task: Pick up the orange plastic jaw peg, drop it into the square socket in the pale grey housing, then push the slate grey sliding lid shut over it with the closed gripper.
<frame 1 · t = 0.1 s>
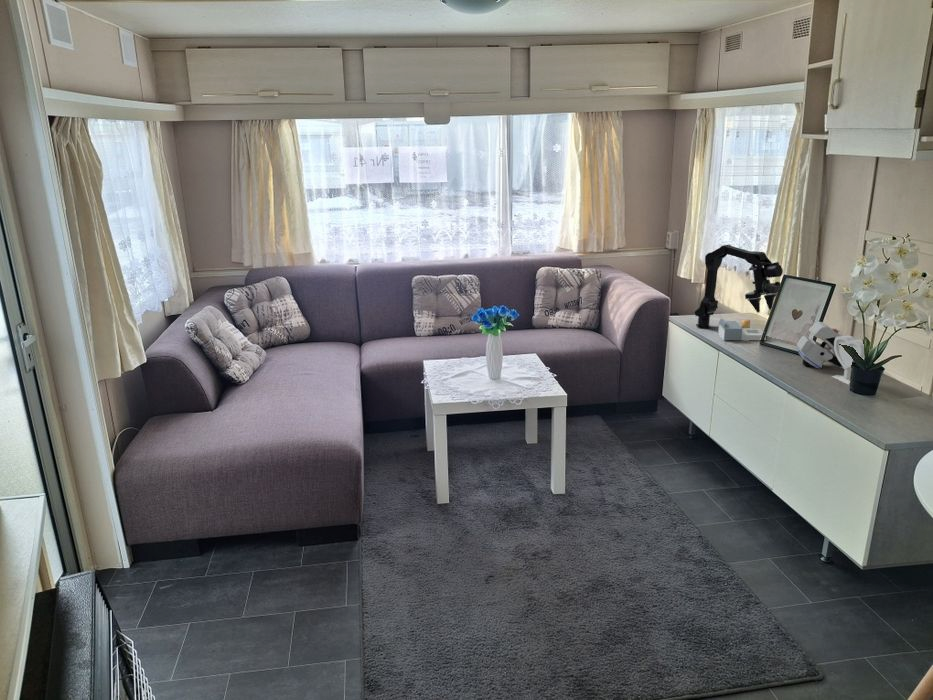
hand: (764, 310, 341), 15 cm above the sideboard top, tool pointing down, fingers open, 9 cm apart
jaw peg: (745, 329, 366), on the sideboard top
robotic device: (820, 366, 310), on the sideboard top
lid: (730, 328, 352), point 4 cm above the sideboard top, slide at 0.0 cm
housing: (741, 337, 353), on the sideboard top
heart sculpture: (846, 380, 292), on the sideboard top
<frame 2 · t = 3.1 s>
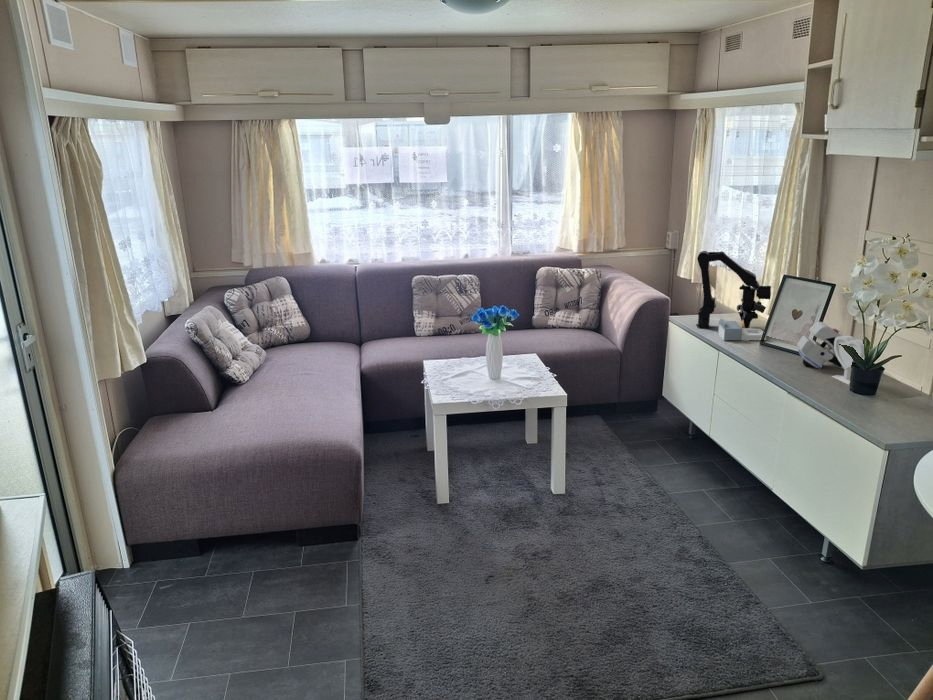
hand: (745, 327, 365), 1 cm above the sideboard top, tool pointing down, fingers closed on jaw peg, 4 cm apart
jaw peg: (745, 329, 366), on the sideboard top, touching gripper
everything else where it was.
when the fingers open (4 cm above the sideboard top, at t = 6.9 s): jaw peg drops 3 cm, resting in housing.
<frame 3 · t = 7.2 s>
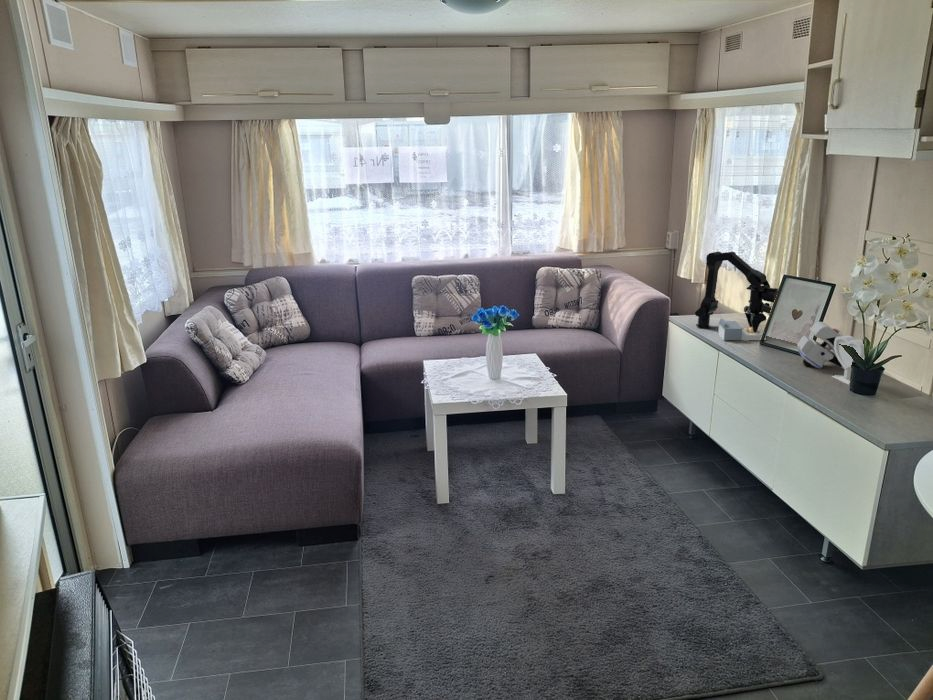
hand: (753, 330, 351), 4 cm above the sideboard top, tool pointing down, fingers open, 7 cm apart
jaw peg: (752, 337, 352), resting in housing
everything else where it was.
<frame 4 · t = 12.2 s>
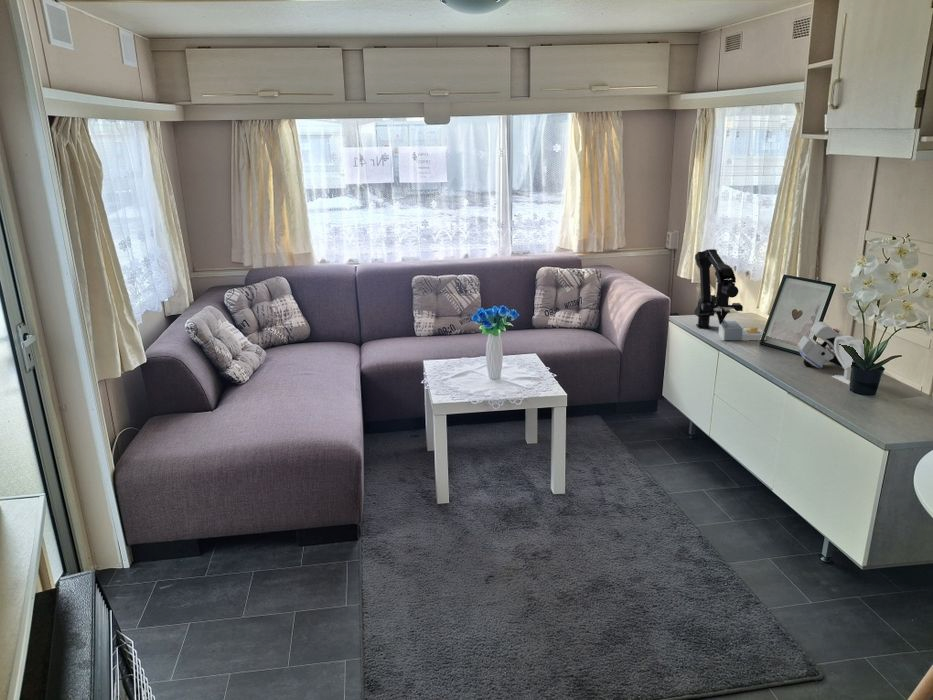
hand: (720, 323, 352), 7 cm above the sideboard top, tool pointing down, fingers closed
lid: (730, 328, 352), point 4 cm above the sideboard top, slide at 0.2 cm, touching gripper
everything else where it was.
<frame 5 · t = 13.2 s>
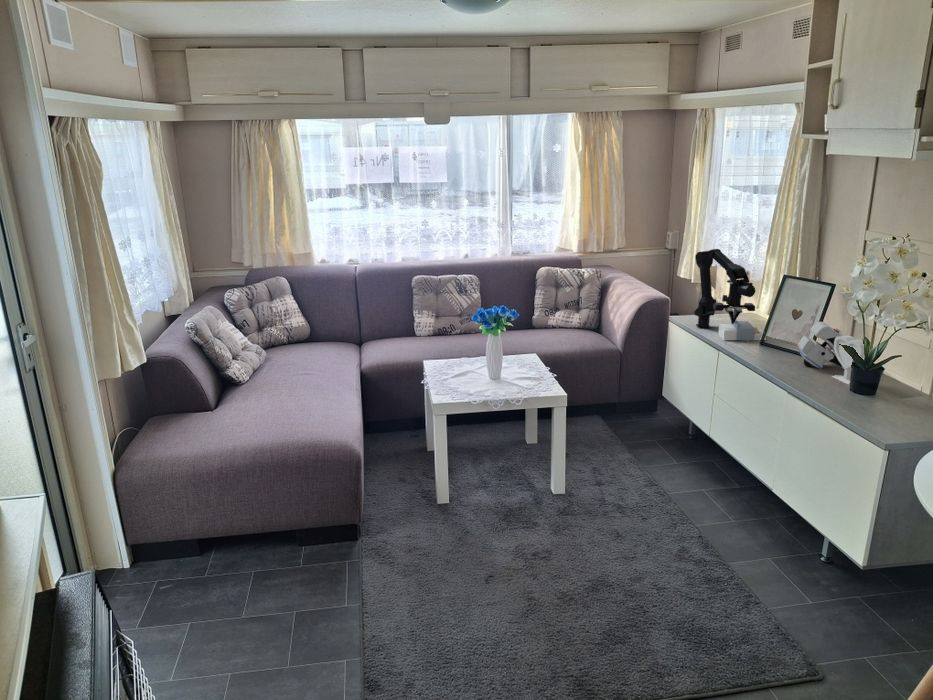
hand: (732, 323, 352), 7 cm above the sideboard top, tool pointing down, fingers closed
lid: (742, 328, 352), point 4 cm above the sideboard top, slide at 6.0 cm, touching gripper
everything else where it was.
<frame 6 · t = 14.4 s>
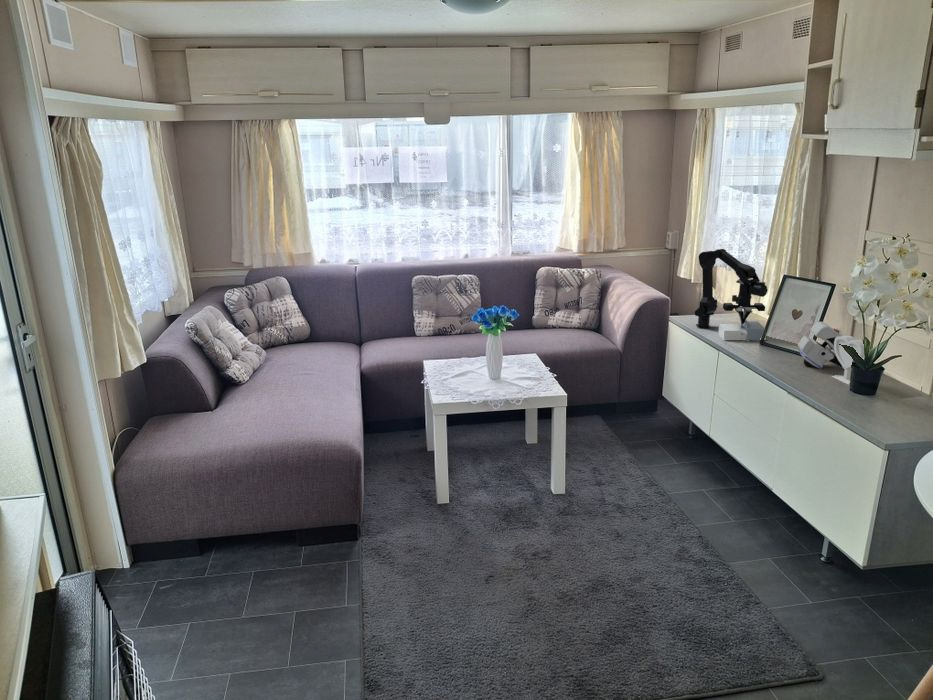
hand: (742, 323, 351), 7 cm above the sideboard top, tool pointing down, fingers closed
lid: (752, 328, 351), point 4 cm above the sideboard top, slide at 10.7 cm, touching gripper
everything else where it was.
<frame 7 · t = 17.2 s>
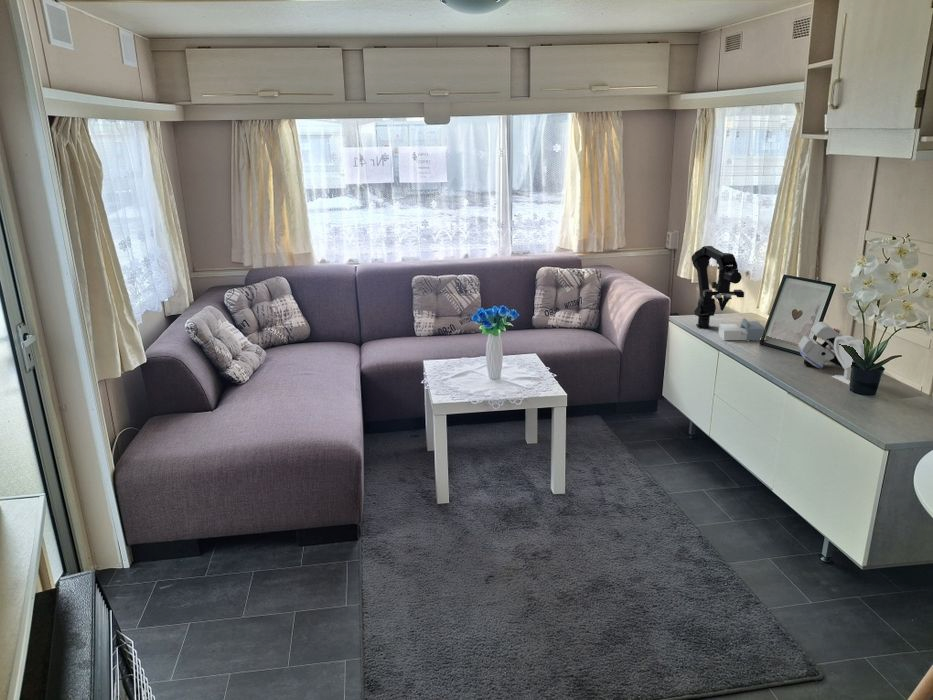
hand: (721, 310, 353), 13 cm above the sideboard top, tool pointing down, fingers closed
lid: (752, 328, 351), point 4 cm above the sideboard top, slide at 10.8 cm
everything else where it was.
at the end: jaw peg 0.1 cm from the target spot on the housing, point 0.0 cm above the housing's base; jaw peg tilted 0°; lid slide at 10.8 cm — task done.
